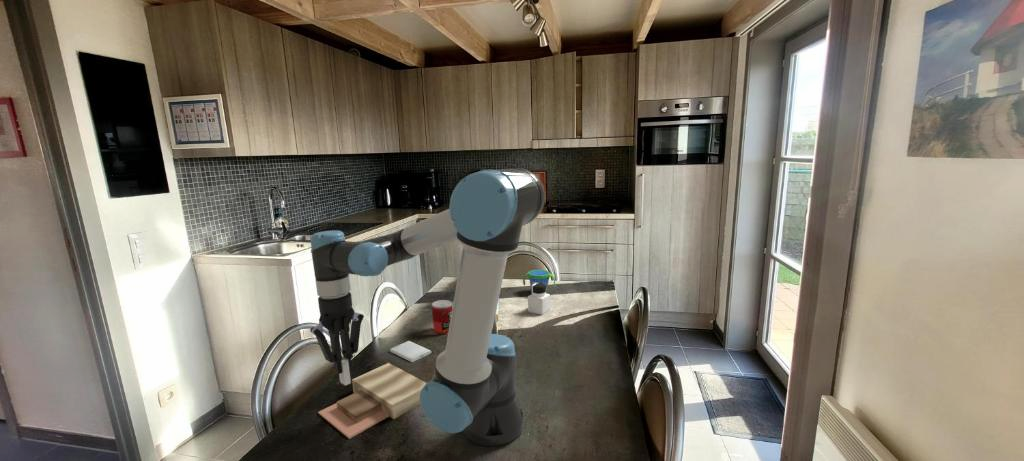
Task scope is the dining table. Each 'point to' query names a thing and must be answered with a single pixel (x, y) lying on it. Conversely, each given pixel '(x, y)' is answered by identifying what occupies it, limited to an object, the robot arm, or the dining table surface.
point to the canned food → (441, 316)
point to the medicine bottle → (539, 299)
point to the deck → (391, 389)
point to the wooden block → (358, 406)
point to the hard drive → (410, 351)
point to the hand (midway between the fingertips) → (345, 382)
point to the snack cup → (539, 277)
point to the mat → (350, 421)
